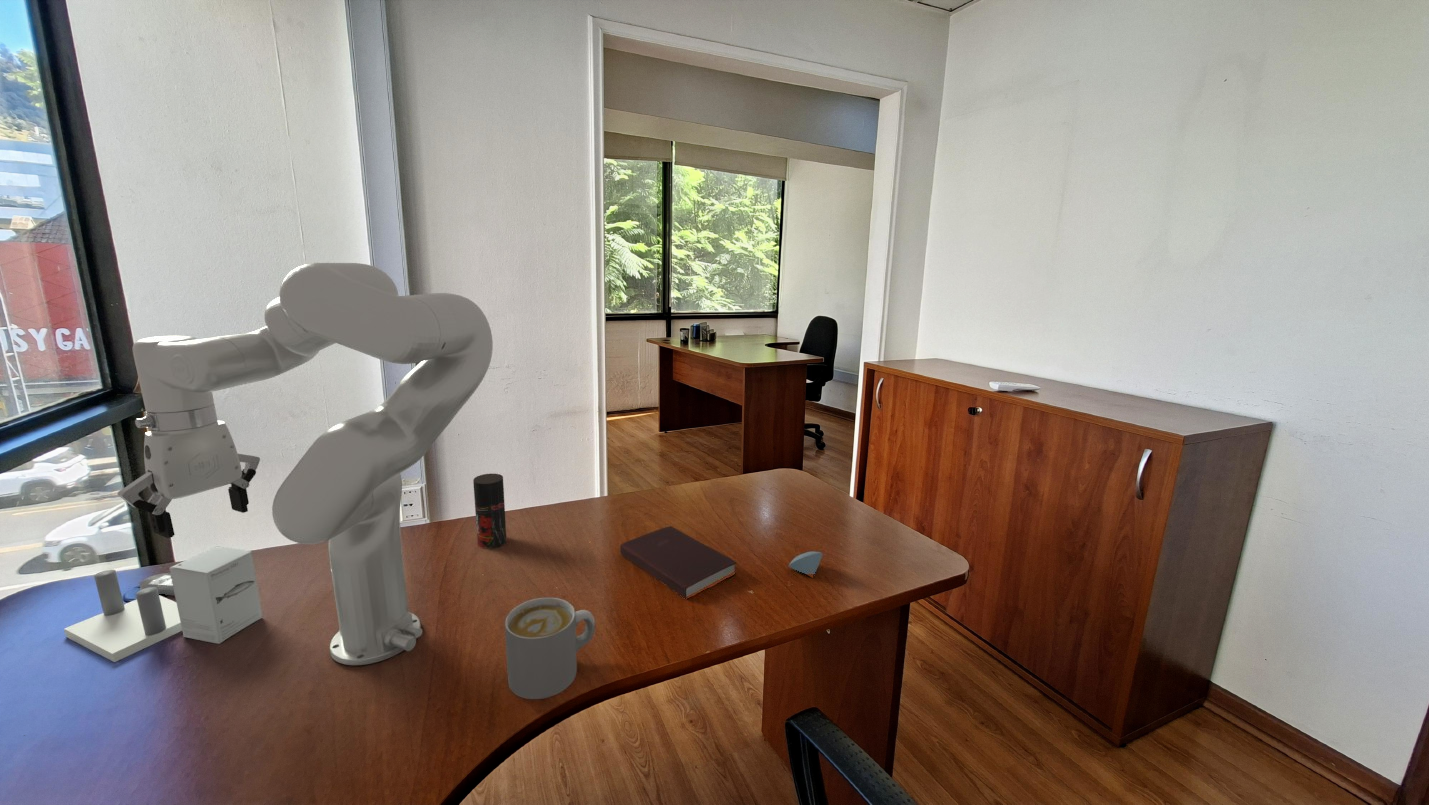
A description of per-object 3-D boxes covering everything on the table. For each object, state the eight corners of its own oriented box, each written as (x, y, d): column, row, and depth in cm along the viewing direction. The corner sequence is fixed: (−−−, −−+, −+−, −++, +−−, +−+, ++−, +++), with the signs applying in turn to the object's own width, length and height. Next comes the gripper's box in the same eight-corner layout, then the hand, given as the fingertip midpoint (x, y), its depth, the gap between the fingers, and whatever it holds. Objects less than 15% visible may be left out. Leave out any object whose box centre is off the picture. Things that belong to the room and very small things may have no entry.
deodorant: (512, 541, 124) (508, 477, 120) (489, 551, 119) (484, 486, 115) (495, 533, 127) (491, 471, 123) (471, 543, 122) (467, 479, 118)
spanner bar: (244, 586, 103) (242, 577, 103) (223, 600, 99) (221, 590, 98) (159, 582, 103) (156, 572, 103) (134, 595, 99) (132, 585, 99)
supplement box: (219, 645, 88) (205, 573, 85) (182, 637, 89) (166, 566, 86) (265, 617, 95) (253, 550, 92) (229, 610, 96) (216, 544, 93)
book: (684, 603, 104) (685, 585, 103) (619, 557, 119) (619, 541, 118) (737, 577, 114) (738, 561, 113) (670, 538, 129) (671, 523, 128)
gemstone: (836, 568, 111) (826, 544, 114) (802, 578, 109) (792, 554, 111) (823, 578, 118) (813, 555, 120) (790, 588, 115) (782, 565, 118)
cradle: (203, 621, 93) (194, 575, 91) (115, 662, 83) (102, 612, 81) (154, 599, 98) (144, 556, 96) (65, 636, 88) (52, 588, 86)
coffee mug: (513, 708, 78) (510, 646, 75) (503, 663, 86) (500, 606, 84) (606, 679, 84) (606, 621, 81) (589, 640, 92) (588, 586, 90)
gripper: (119, 437, 75) (146, 552, 79) (262, 409, 90) (279, 506, 94) (91, 429, 78) (119, 541, 82) (234, 403, 93) (252, 498, 97)
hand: (205, 522), depth 88 cm, fingers open, 9 cm apart
